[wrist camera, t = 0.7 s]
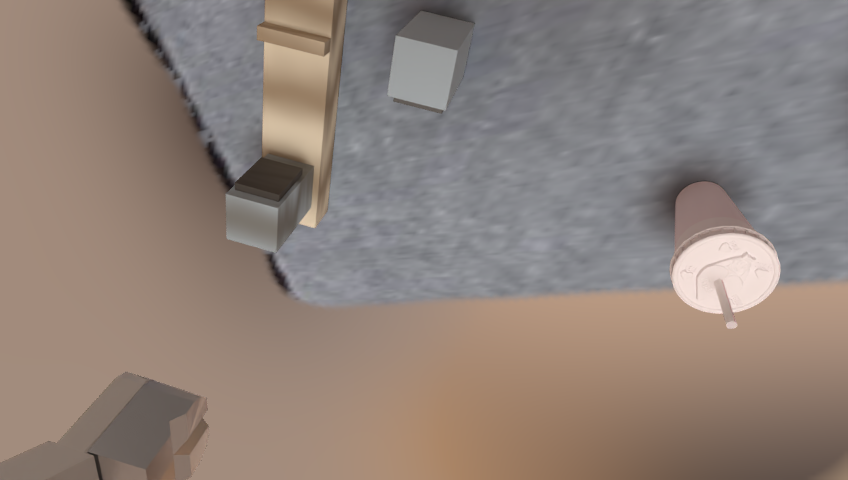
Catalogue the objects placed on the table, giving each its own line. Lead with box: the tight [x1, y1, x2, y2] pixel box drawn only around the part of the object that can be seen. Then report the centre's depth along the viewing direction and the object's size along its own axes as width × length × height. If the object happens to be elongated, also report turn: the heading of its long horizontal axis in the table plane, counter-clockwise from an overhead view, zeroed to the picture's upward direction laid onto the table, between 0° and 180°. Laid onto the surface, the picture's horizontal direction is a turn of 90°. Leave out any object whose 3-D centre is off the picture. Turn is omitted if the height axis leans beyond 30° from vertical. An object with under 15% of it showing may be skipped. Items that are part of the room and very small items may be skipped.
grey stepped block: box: [387, 11, 475, 114], centre depth 41 cm, size 5×4×7 cm
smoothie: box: [670, 181, 780, 329], centre depth 40 cm, size 6×6×14 cm
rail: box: [226, 0, 347, 253], centre depth 44 cm, size 24×5×10 cm, turn 170°
